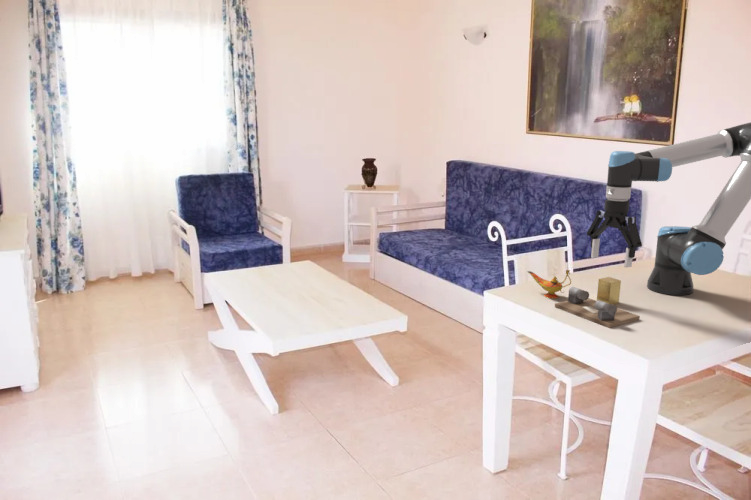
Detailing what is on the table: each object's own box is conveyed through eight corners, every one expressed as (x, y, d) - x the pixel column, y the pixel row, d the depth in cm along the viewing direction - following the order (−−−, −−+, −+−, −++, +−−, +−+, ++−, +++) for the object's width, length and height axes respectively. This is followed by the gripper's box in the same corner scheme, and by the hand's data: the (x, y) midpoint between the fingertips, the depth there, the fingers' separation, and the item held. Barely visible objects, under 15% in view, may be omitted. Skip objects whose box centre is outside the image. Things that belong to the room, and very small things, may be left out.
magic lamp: (532, 287, 226) (534, 258, 223) (575, 299, 213) (577, 268, 210) (520, 290, 222) (522, 261, 219) (563, 303, 208) (566, 272, 206)
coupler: (618, 303, 209) (621, 280, 207) (608, 305, 207) (610, 282, 205) (606, 299, 213) (608, 276, 211) (596, 301, 211) (598, 278, 209)
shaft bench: (639, 319, 194) (641, 301, 192) (609, 327, 187) (610, 309, 185) (584, 300, 212) (585, 283, 210) (554, 306, 205) (556, 289, 204)
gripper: (579, 194, 210) (574, 254, 215) (643, 206, 189) (635, 272, 194) (594, 193, 214) (589, 252, 219) (658, 204, 193) (650, 269, 198)
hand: (610, 262), depth 207 cm, fingers open, 13 cm apart
